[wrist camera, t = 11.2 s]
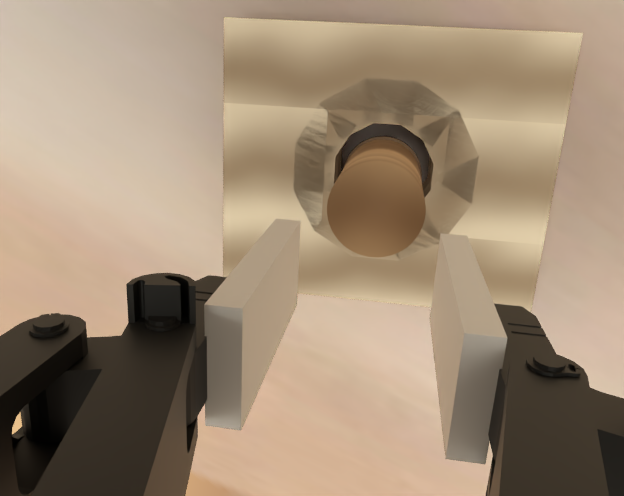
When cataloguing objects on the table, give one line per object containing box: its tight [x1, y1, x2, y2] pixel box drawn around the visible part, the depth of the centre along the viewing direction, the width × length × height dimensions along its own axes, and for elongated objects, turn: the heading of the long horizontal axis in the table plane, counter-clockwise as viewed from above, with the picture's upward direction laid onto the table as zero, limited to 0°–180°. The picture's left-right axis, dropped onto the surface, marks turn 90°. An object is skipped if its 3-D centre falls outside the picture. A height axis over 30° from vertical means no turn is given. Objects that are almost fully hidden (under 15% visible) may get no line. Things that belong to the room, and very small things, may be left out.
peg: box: [327, 136, 426, 257], centre depth 30 cm, size 4×4×13 cm
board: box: [223, 17, 583, 312], centre depth 34 cm, size 16×19×4 cm
